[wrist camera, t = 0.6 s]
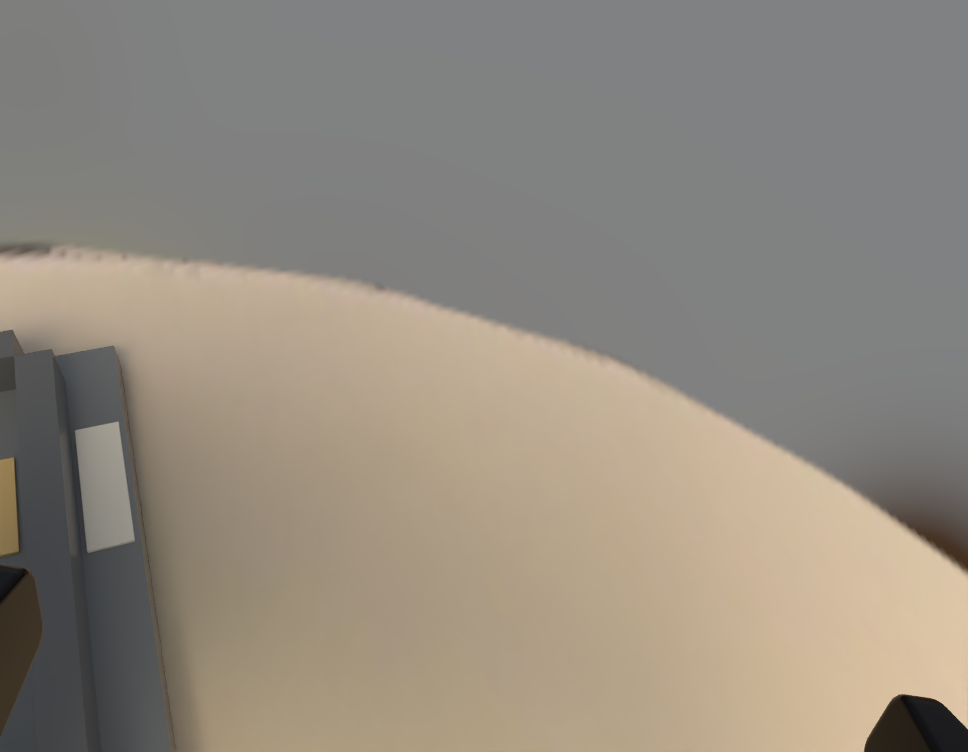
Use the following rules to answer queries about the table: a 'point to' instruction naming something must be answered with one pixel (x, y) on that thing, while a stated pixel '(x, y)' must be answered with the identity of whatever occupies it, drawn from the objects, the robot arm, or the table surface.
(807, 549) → the table surface
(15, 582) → the robot arm
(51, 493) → the switch housing
